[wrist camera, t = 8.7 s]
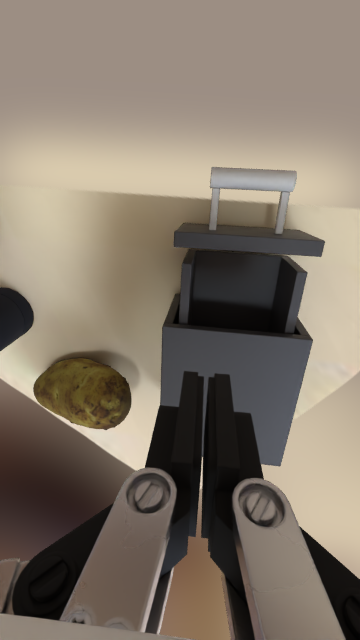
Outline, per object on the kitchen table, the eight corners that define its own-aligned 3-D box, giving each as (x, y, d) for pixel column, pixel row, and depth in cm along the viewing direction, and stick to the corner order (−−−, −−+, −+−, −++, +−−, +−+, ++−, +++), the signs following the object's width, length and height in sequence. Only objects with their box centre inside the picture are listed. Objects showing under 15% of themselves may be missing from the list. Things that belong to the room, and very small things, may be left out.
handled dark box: (186, 169, 28) (177, 162, 21) (310, 175, 27) (342, 169, 20) (177, 341, 35) (168, 376, 28) (275, 351, 34) (289, 389, 27)
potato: (47, 334, 38) (7, 368, 30) (145, 359, 37) (128, 399, 30) (45, 386, 41) (9, 428, 34) (135, 409, 41) (117, 456, 34)
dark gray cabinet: (175, 293, 34) (162, 326, 25) (288, 302, 33) (313, 340, 24) (170, 397, 39) (158, 451, 31) (266, 407, 38) (280, 466, 30)
